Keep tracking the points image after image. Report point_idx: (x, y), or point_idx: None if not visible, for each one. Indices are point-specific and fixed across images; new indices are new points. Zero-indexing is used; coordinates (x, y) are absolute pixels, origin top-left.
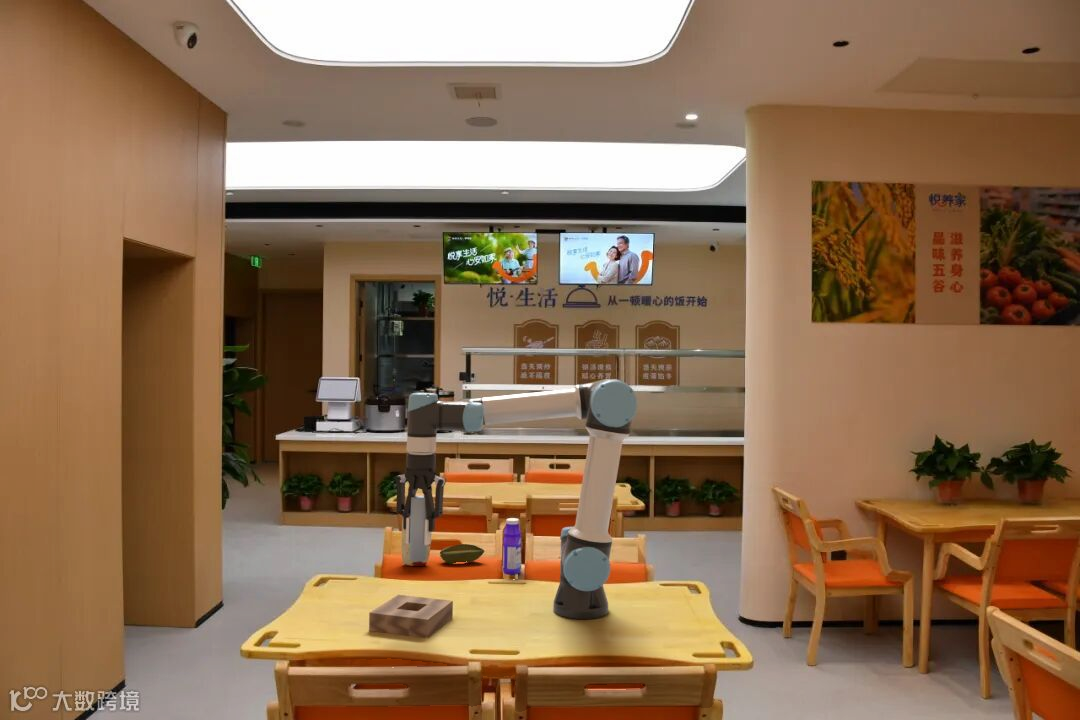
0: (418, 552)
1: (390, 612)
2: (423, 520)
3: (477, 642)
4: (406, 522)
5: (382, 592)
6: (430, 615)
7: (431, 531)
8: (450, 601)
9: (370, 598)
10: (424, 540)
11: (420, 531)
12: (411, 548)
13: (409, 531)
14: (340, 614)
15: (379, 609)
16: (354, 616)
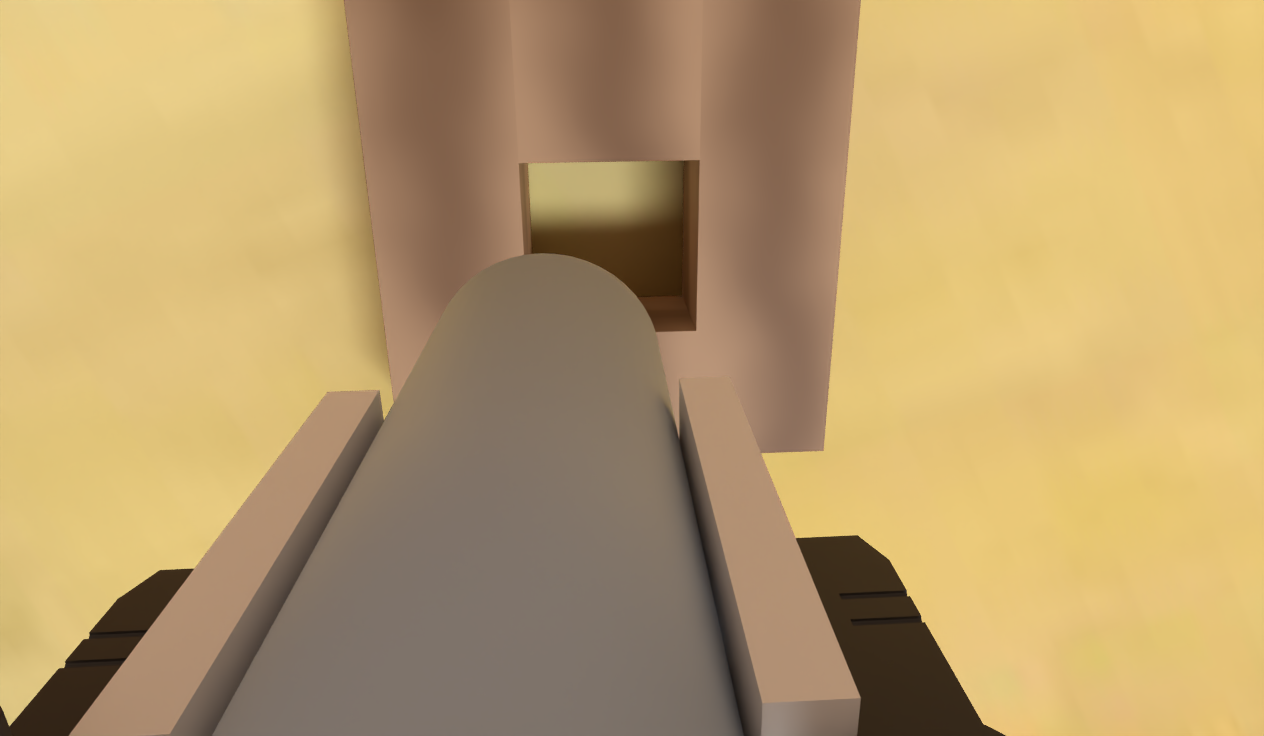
0: (471, 301)
1: (703, 58)
2: (235, 703)
3: (15, 44)
4: (817, 602)
5: (1014, 652)
6: (377, 104)
7: (161, 573)
8: None
9: (1045, 544)
10: (354, 424)
11: (377, 466)
12: (594, 315)
13: (702, 508)
14: (1125, 229)
15: (817, 99)
16: (1023, 226)
